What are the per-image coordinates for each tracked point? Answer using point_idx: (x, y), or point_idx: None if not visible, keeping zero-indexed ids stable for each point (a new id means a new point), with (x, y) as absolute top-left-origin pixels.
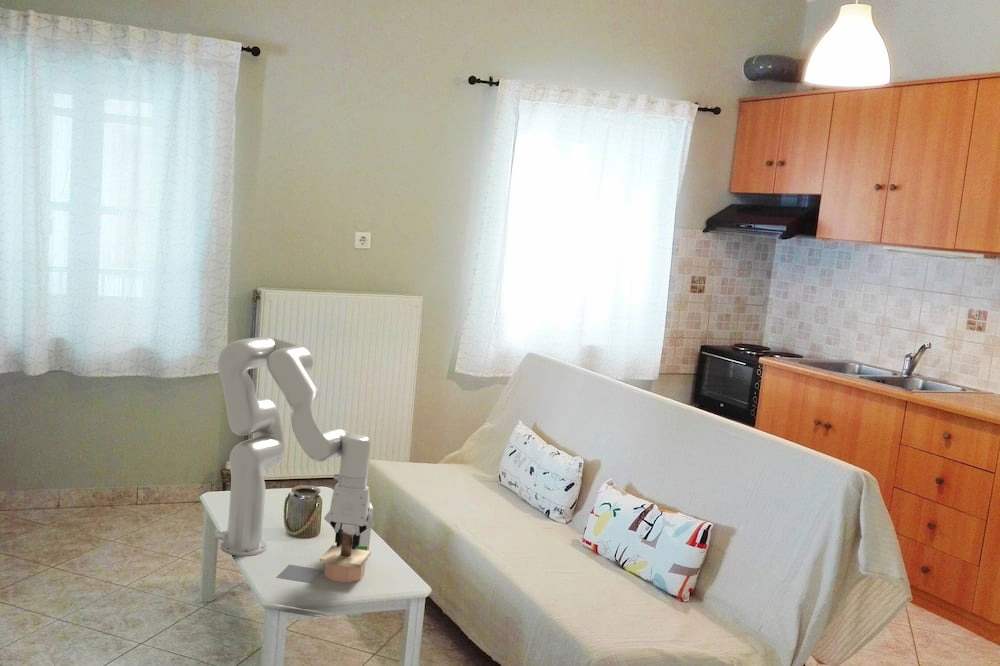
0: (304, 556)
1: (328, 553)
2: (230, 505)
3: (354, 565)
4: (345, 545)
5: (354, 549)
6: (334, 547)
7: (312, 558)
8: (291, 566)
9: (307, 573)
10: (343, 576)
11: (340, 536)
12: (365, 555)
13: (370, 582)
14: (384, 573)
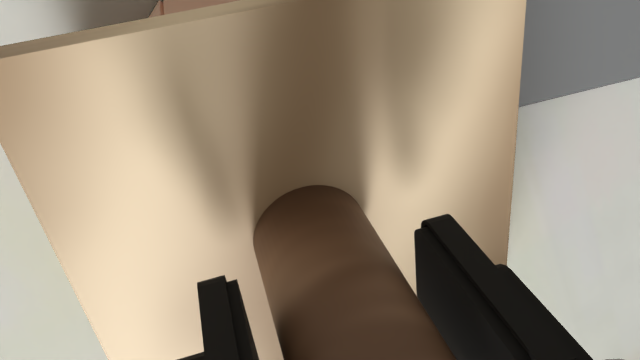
0: (596, 243)
1: (481, 156)
2: None
3: (53, 45)
4: (340, 272)
5: (199, 287)
6: None
7: (550, 248)
8: None
9: None
10: (199, 5)
11: (486, 348)
12: (123, 342)
13: (4, 151)
14: (41, 344)
